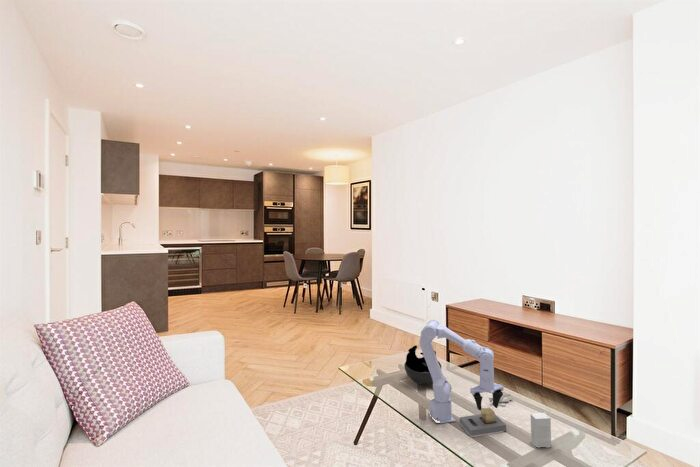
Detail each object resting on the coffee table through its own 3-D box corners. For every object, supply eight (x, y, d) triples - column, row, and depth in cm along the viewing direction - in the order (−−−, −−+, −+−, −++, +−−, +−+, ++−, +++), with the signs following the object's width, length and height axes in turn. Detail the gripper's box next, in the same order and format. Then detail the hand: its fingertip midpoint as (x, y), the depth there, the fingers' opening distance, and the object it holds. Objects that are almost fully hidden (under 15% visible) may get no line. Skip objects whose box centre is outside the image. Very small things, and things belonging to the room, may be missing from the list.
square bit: (486, 429, 157) (485, 413, 157) (481, 424, 161) (481, 408, 161) (494, 428, 158) (494, 412, 158) (489, 422, 162) (489, 407, 162)
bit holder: (471, 437, 153) (471, 430, 153) (459, 423, 163) (459, 417, 163) (506, 431, 156) (506, 424, 156) (492, 418, 166) (492, 412, 166)
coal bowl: (445, 390, 193) (444, 355, 192) (407, 392, 193) (406, 357, 192) (437, 374, 213) (436, 342, 212) (402, 375, 213) (401, 343, 212)
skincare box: (545, 441, 149) (544, 412, 148) (551, 447, 145) (551, 418, 144) (530, 441, 149) (530, 413, 148) (536, 448, 144) (535, 419, 144)
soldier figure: (516, 406, 178) (499, 405, 172) (508, 409, 180) (491, 408, 175) (509, 389, 183) (492, 388, 178) (501, 393, 186) (485, 392, 180)
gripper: (476, 383, 154) (476, 415, 154) (507, 379, 156) (508, 410, 157) (467, 376, 160) (468, 406, 161) (498, 372, 163) (498, 402, 164)
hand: (487, 407), depth 160 cm, fingers open, 7 cm apart
